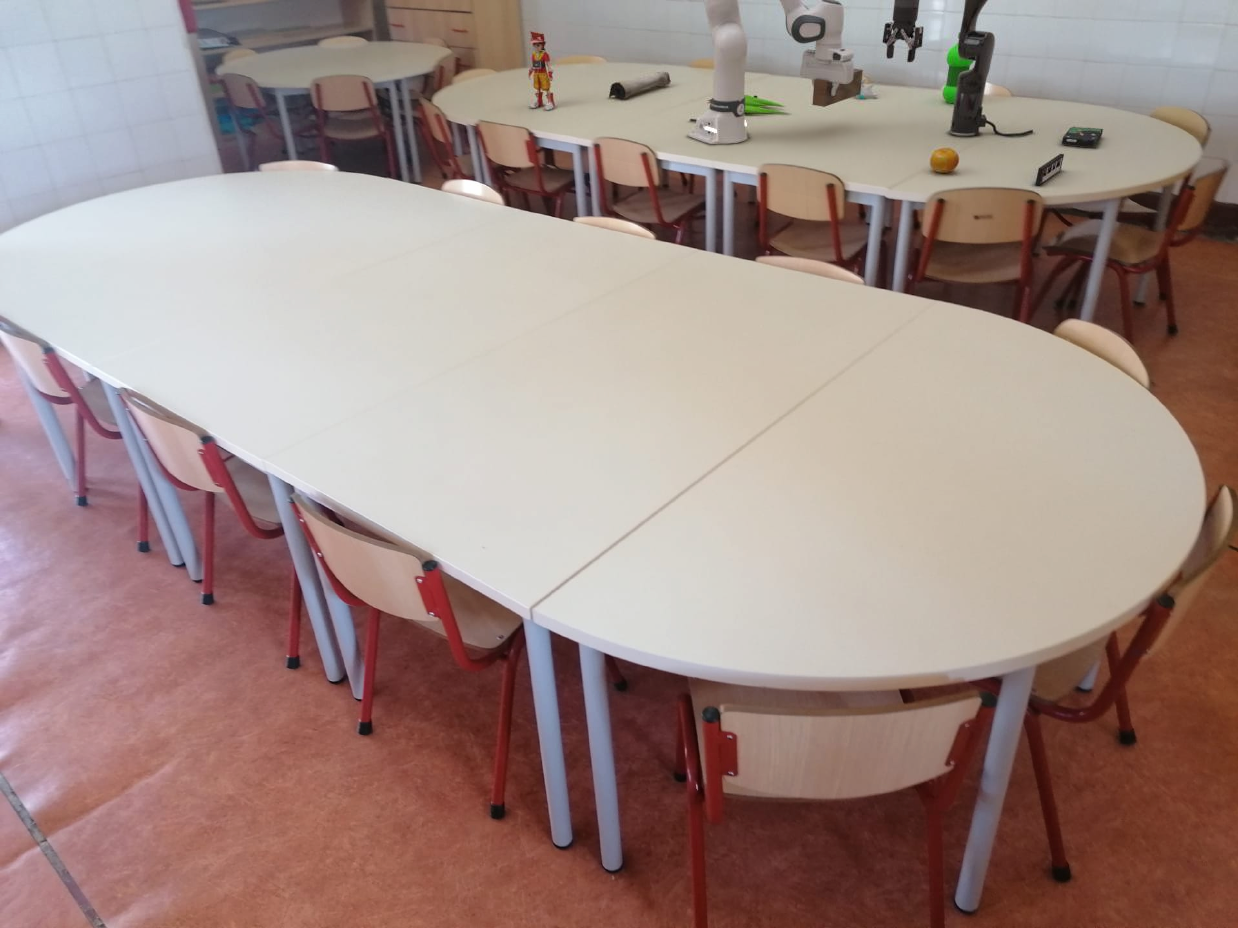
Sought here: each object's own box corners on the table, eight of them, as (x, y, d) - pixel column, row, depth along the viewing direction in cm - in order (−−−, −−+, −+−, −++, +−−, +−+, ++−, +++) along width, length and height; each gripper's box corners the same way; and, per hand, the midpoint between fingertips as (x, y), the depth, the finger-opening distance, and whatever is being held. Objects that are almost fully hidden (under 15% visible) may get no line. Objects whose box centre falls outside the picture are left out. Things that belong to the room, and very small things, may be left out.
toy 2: (703, 112, 356) (773, 124, 344) (705, 98, 354) (775, 110, 341) (734, 102, 377) (800, 113, 364) (735, 89, 374) (802, 100, 361)
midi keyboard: (1039, 185, 269) (1043, 168, 266) (1035, 184, 270) (1038, 168, 267) (1060, 170, 279) (1064, 154, 277) (1056, 169, 280) (1060, 153, 277)
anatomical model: (842, 70, 373) (865, 64, 372) (844, 96, 379) (868, 89, 378) (852, 78, 360) (877, 71, 360) (855, 104, 366) (879, 98, 366)
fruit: (924, 163, 281) (941, 140, 278) (925, 165, 289) (941, 143, 286) (946, 178, 280) (963, 155, 277) (947, 180, 288) (963, 158, 285)
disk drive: (1094, 148, 296) (1101, 136, 306) (1096, 140, 295) (1103, 128, 305) (1060, 145, 301) (1068, 133, 311) (1062, 137, 299) (1070, 125, 309)
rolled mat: (651, 76, 408) (662, 61, 399) (662, 93, 408) (674, 79, 400) (605, 92, 391) (616, 77, 383) (617, 110, 391) (628, 95, 383)
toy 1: (525, 109, 381) (517, 32, 364) (534, 104, 388) (527, 28, 371) (550, 110, 377) (543, 32, 360) (559, 105, 384) (553, 28, 367)
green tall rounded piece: (973, 101, 354) (984, 32, 339) (955, 106, 349) (966, 36, 335) (952, 97, 361) (962, 29, 346) (934, 102, 356) (944, 33, 342)
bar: (848, 92, 332) (850, 68, 327) (860, 94, 329) (862, 69, 324) (812, 105, 320) (814, 80, 315) (824, 107, 317) (826, 81, 312)
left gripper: (798, 50, 315) (795, 92, 323) (847, 56, 302) (843, 99, 310) (808, 47, 318) (805, 88, 326) (858, 53, 306) (853, 96, 314)
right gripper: (880, 4, 284) (875, 59, 293) (916, 8, 274) (909, 65, 283) (897, 1, 287) (891, 55, 296) (932, 5, 277) (925, 61, 286)
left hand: (824, 94), depth 318 cm, fingers closed on bar, 5 cm apart
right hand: (899, 60), depth 290 cm, fingers open, 8 cm apart
